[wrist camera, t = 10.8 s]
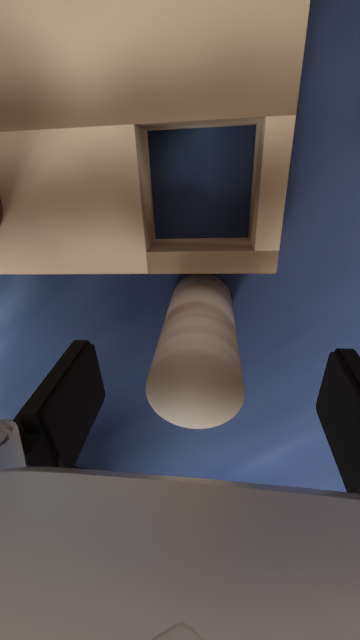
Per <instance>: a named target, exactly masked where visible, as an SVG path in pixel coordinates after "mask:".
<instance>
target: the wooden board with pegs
mask: <svg viewBox="0 0 360 640" xmlns="http://www.w3.org/2000/svg"><path fill="white" fill-rule="evenodd" d="M309 7H310V0H0V274H247V273H276V272H277V264H278V256H279V248H280V240H281V232H282V224H283V216H284V208H285V200H286V192H287V184H288V176H289V168H290V160H291V152H292V144H293V136H294V128H295V120H296V112H297V104H298V96H299V88H300V80H301V72H302V64H303V56H304V48H305V39H306V31H307V23H308V15H309ZM246 125H256V137H255V151H254V164H253V178H252V192H251V206H250V220H249V233H248V237H245V238H184V239H156V238H155V225H154V212H153V199H152V185H151V172H150V159H149V146H148V133H147V131H155V130H173V129H191V128H209V127H228V126H246Z"/></svg>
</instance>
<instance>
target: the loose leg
mask: <svg viewBox="0 0 360 640" xmlns="http://www.w3.org/2000/svg"><path fill="white" fill-rule="evenodd" d="M145 388H146V396H147V399H148V402H149V404H150V405H151V407H152V408H153V410H154V411H155V412H156V413H157V414H158V415H159V416H161V417H162V418H163V419H165V420H166V421H168V422H170V423H172V424H175V425H177V426H180V427H184V428H190V429H206V428H212V427H216V426H219V425H221V424H224V423H225V422H227V421H229V420H230V419H232V418H233V417H234V416H235V415H236V414H237V413H238V412H239V410H240V409H241V407H242V405H243V402H244V398H245V389H244V382H243V375H242V368H241V361H240V355H239V348H238V341H237V334H236V327H235V320H234V313H233V306H232V299H231V294H230V291H229V289H228V287H227V285H226V284H225V283H224V282H223V281H222V280H221V279H220V278H218V277H216V276H214V275H211V274H191V275H189V276H187V277H185V278H183V279H182V280H181V281H180V282H179V283H178V284H177V285H176V287H175V289H174V291H173V294H172V298H171V301H170V304H169V308H168V311H167V314H166V318H165V321H164V324H163V328H162V331H161V334H160V338H159V341H158V344H157V348H156V351H155V355H154V358H153V361H152V365H151V368H150V371H149V375H148V378H147V381H146V387H145Z"/></svg>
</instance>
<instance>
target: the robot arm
mask: <svg viewBox="0 0 360 640" xmlns="http://www.w3.org/2000/svg"><path fill="white" fill-rule="evenodd" d="M104 398H105V390H104V386H103V381H102V377H101V373H100V368H99V364H98V359H97V355H96V351H95V347H94V345H93V344H91V343H90V342H89V341H87V340H74V341H73V342H72V344H71V345H70V346H69V348H68V349H67V350H66V351H65V353H64V354H63V355H62V357H61V358H60V359H59V361H58V362H57V363H56V365H55V366H54V367H53V368H52V370H51V371H50V372H49V374H48V375H47V376H46V378H45V379H44V380H43V382H42V383H41V384H40V385H39V387H38V388H37V389H36V391H35V392H34V393H33V395H32V396H31V397H30V399H29V400H28V401H27V402H26V404H25V405H24V406H23V408H22V409H21V410H20V412H19V413H18V414H17V416H16V417H15V418H14V420H13V421H12V420H6V419H5V420H0V640H360V357H359V355H358V354H357V352H356V351H355V350H354V349H340V348H337V349H336V350H335V351H334V352H331V353H330V354H329V358H328V361H327V365H326V369H325V373H324V376H323V380H322V384H321V388H320V391H319V395H318V399H317V403H316V410H317V414H318V417H319V419H320V422H321V424H322V427H323V430H324V432H325V435H326V438H327V440H328V443H329V446H330V448H331V451H332V454H333V456H334V459H335V462H336V464H337V467H338V469H339V472H340V475H341V477H342V480H343V483H344V485H345V488H346V491H347V492H339V491H329V490H320V489H311V488H300V487H289V486H278V485H267V484H256V483H245V482H234V481H223V480H211V479H200V478H188V477H177V476H165V475H153V474H141V473H129V472H116V471H104V470H92V469H76V468H73V466H74V464H75V462H76V460H77V458H78V456H79V453H80V451H81V449H82V447H83V445H84V443H85V440H86V438H87V436H88V434H89V432H90V430H91V427H92V425H93V423H94V421H95V419H96V416H97V414H98V412H99V410H100V408H101V406H102V403H103V401H104Z"/></svg>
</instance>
